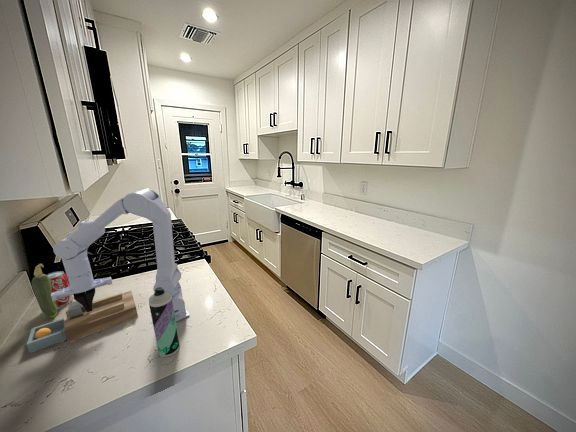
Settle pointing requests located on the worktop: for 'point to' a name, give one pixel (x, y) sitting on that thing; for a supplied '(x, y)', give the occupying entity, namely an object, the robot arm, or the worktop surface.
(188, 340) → the worktop surface
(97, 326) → the board
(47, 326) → the shallow blue tray
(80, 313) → the block
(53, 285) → the soda can
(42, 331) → the ball
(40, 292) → the vegetable
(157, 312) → the spray can
